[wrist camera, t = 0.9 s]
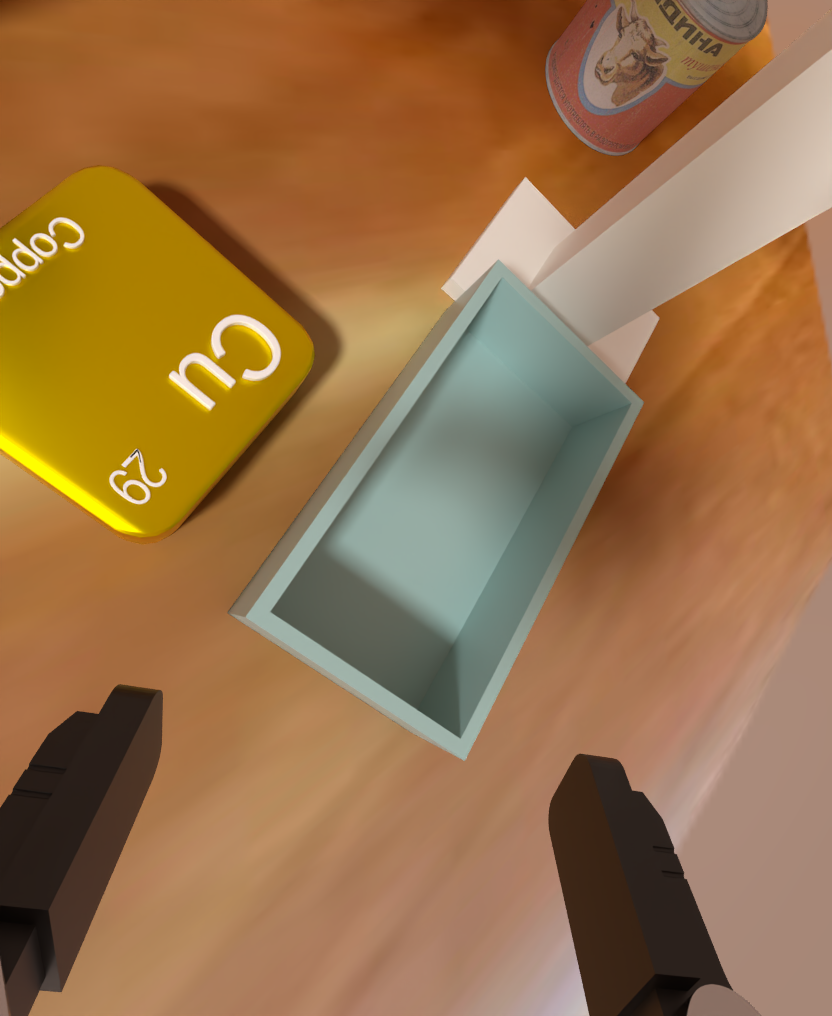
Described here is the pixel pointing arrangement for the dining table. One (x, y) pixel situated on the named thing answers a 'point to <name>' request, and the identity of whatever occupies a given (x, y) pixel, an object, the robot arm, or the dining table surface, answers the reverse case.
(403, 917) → the dining table surface
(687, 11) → the canned food
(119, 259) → the element tile
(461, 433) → the bin
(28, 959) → the robot arm
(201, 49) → the dining table surface
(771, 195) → the white i-beam pedestal
